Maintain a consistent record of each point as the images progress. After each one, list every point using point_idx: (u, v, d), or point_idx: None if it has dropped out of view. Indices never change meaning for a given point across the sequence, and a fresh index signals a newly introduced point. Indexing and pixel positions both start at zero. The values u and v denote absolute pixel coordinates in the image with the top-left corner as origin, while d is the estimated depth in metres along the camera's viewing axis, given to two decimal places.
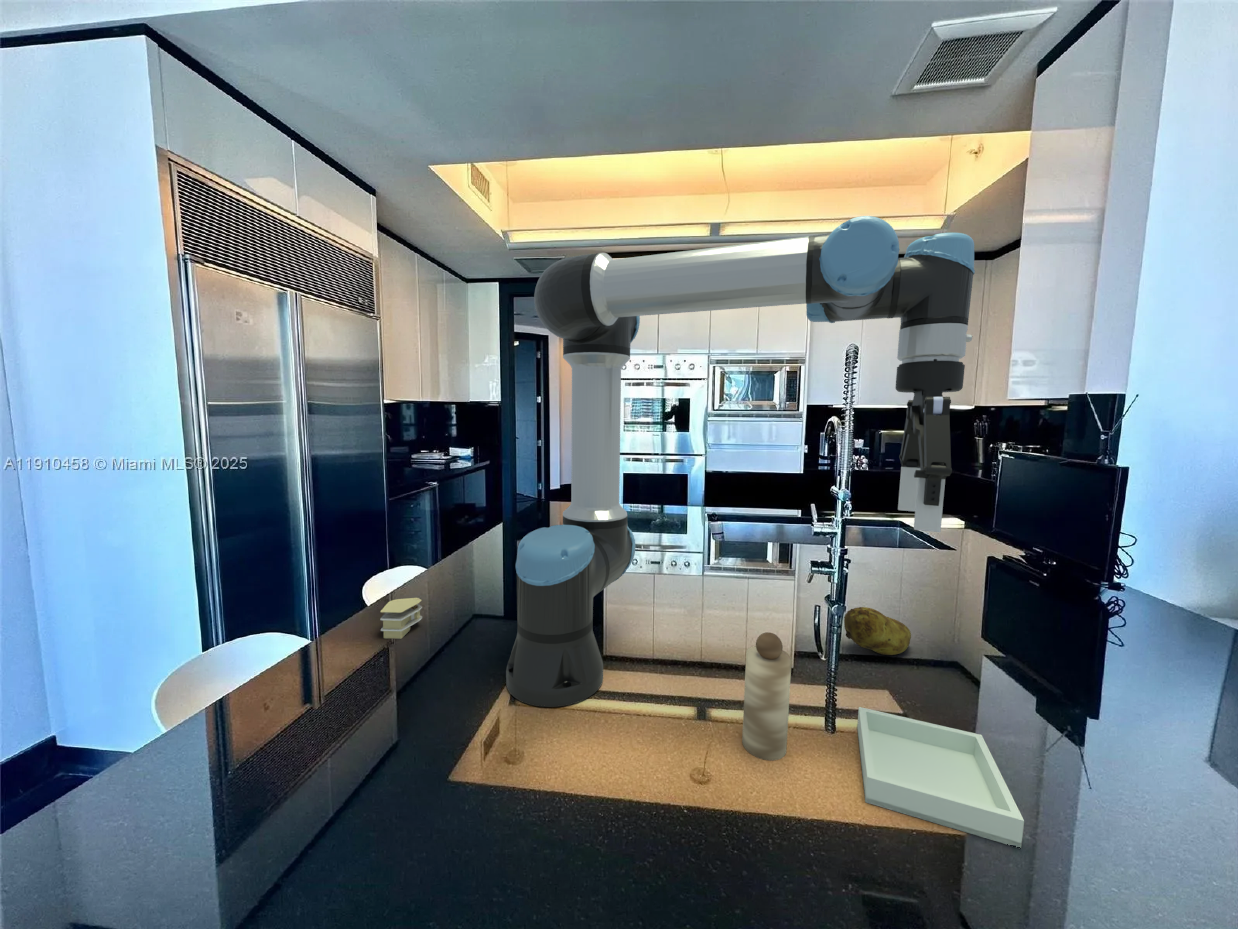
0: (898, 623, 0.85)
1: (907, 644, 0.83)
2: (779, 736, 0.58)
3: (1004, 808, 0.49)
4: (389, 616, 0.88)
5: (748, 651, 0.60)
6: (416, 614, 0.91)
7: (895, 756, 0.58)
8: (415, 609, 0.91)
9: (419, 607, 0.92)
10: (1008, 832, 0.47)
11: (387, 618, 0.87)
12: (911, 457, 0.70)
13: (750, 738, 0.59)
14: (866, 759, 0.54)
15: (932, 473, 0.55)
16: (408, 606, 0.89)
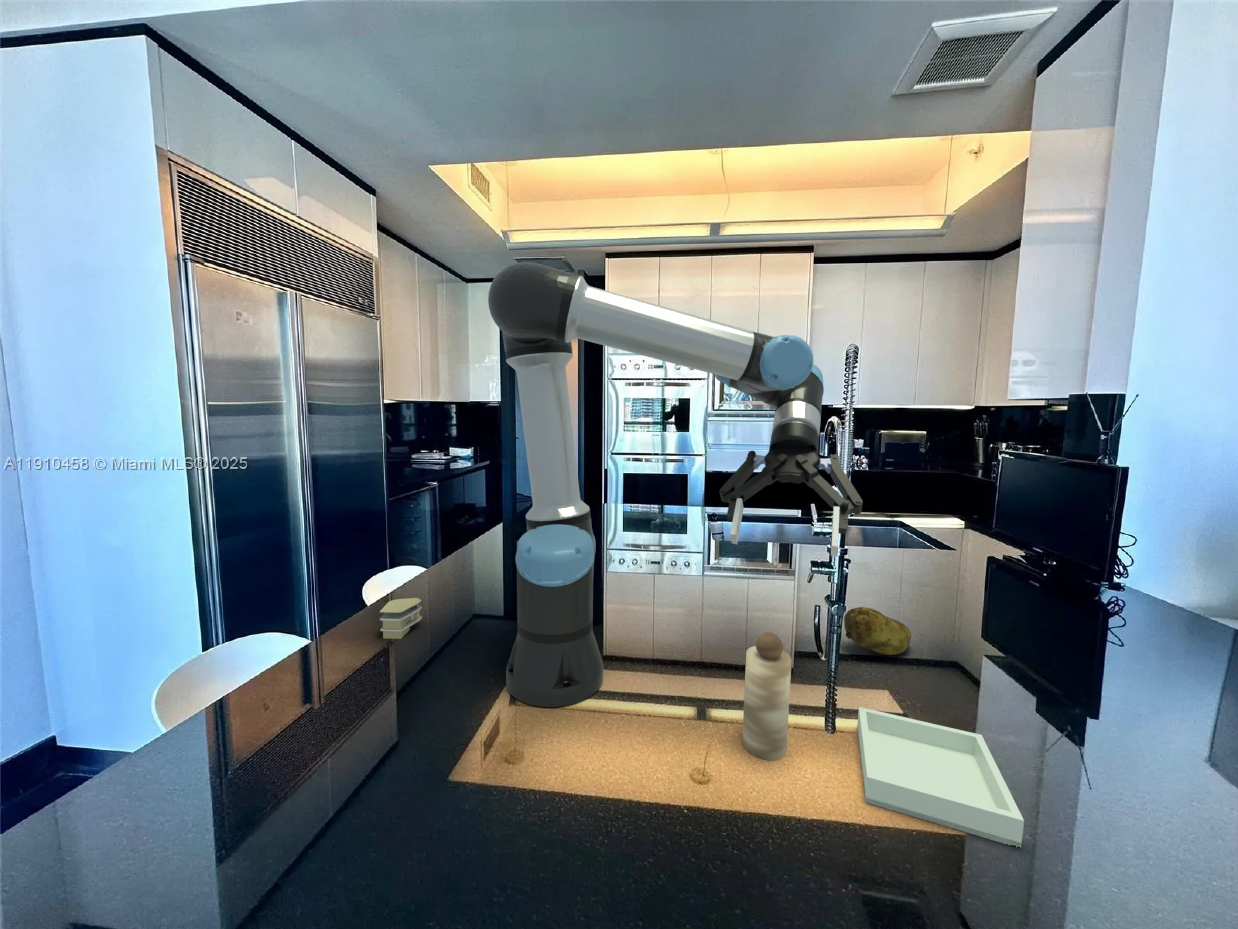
0: (898, 623, 0.85)
1: (907, 644, 0.83)
2: (779, 736, 0.58)
3: (1004, 808, 0.49)
4: (389, 616, 0.88)
5: (748, 651, 0.60)
6: (416, 614, 0.91)
7: (895, 756, 0.58)
8: (415, 609, 0.91)
9: (419, 607, 0.92)
10: (1008, 832, 0.47)
11: (387, 618, 0.87)
12: (745, 494, 0.74)
13: (750, 738, 0.59)
14: (866, 759, 0.54)
15: (860, 507, 0.67)
16: (408, 606, 0.89)
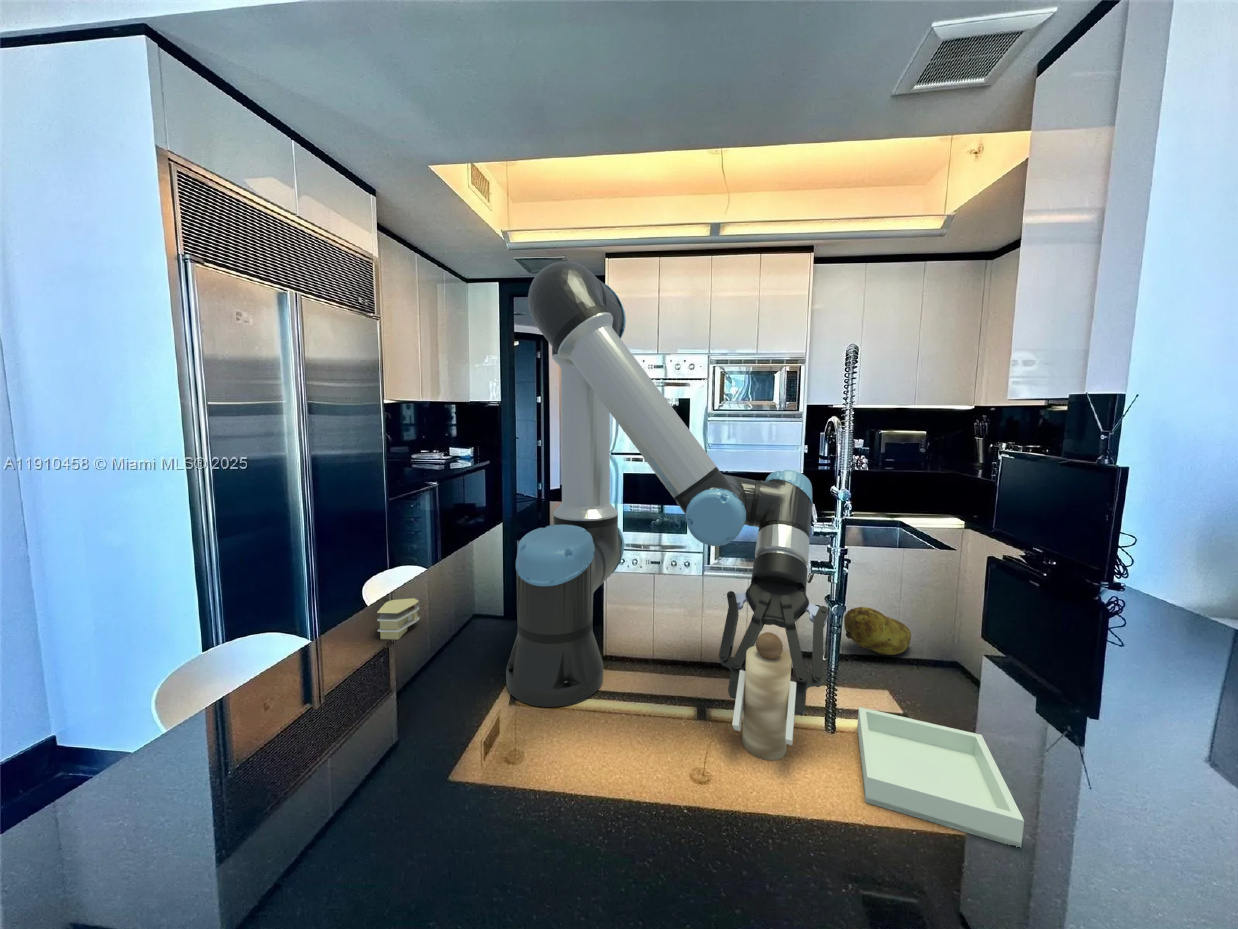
0: (898, 623, 0.85)
1: (907, 644, 0.83)
2: (779, 736, 0.58)
3: (1004, 808, 0.49)
4: (386, 617, 0.87)
5: (748, 651, 0.60)
6: (413, 615, 0.91)
7: (895, 756, 0.58)
8: (412, 610, 0.90)
9: (416, 608, 0.91)
10: (1008, 832, 0.47)
11: (384, 619, 0.86)
12: None
13: (750, 738, 0.59)
14: (866, 759, 0.54)
15: (820, 682, 0.58)
16: (405, 607, 0.89)
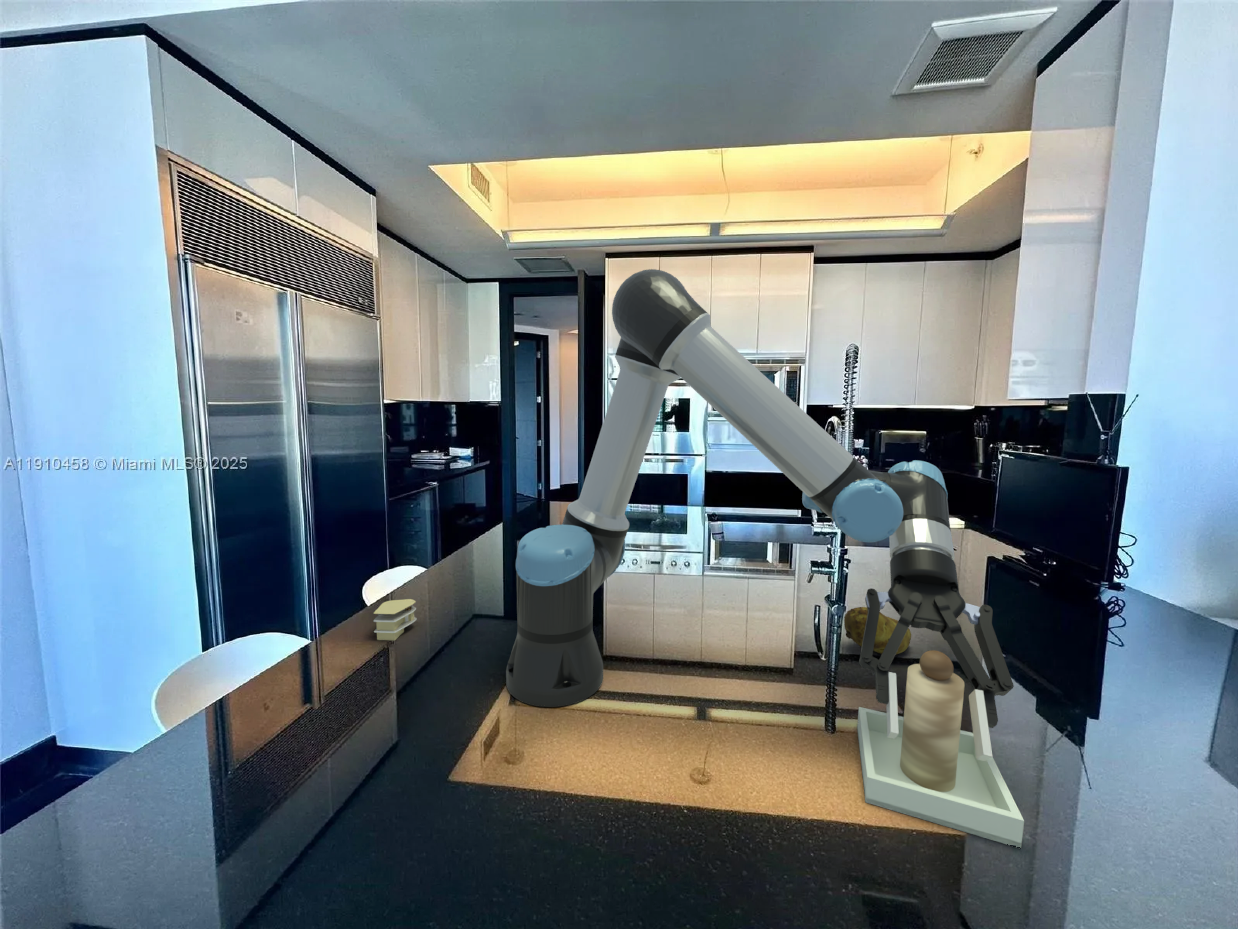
0: None
1: (907, 644, 0.83)
2: (952, 765, 0.52)
3: (1004, 808, 0.49)
4: (382, 617, 0.87)
5: (910, 671, 0.55)
6: (410, 616, 0.90)
7: (895, 756, 0.58)
8: (409, 610, 0.90)
9: (413, 608, 0.91)
10: (1008, 832, 0.47)
11: (380, 620, 0.86)
12: (892, 659, 0.58)
13: (917, 767, 0.54)
14: (866, 759, 0.54)
15: (1009, 690, 0.52)
16: (402, 607, 0.88)
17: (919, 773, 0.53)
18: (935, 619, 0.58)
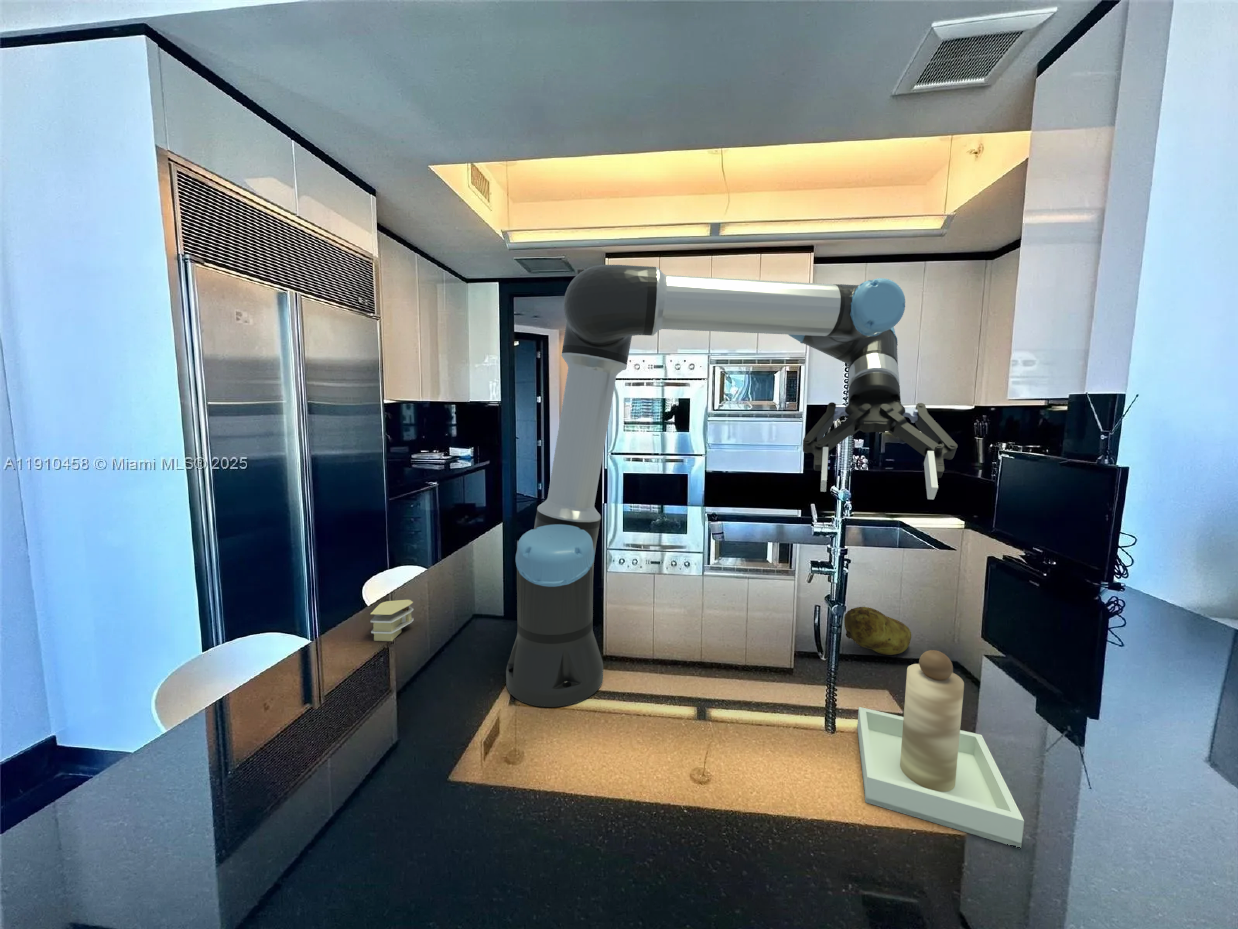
0: (898, 623, 0.85)
1: (907, 644, 0.83)
2: (952, 764, 0.52)
3: (1004, 808, 0.49)
4: (379, 618, 0.87)
5: (909, 670, 0.55)
6: (407, 616, 0.90)
7: (895, 756, 0.58)
8: (406, 611, 0.90)
9: (410, 609, 0.91)
10: (1008, 832, 0.47)
11: (377, 620, 0.86)
12: (829, 444, 0.74)
13: (917, 766, 0.54)
14: (866, 759, 0.54)
15: (954, 451, 0.67)
16: (399, 608, 0.88)
17: (919, 773, 0.53)
18: (880, 420, 0.73)
